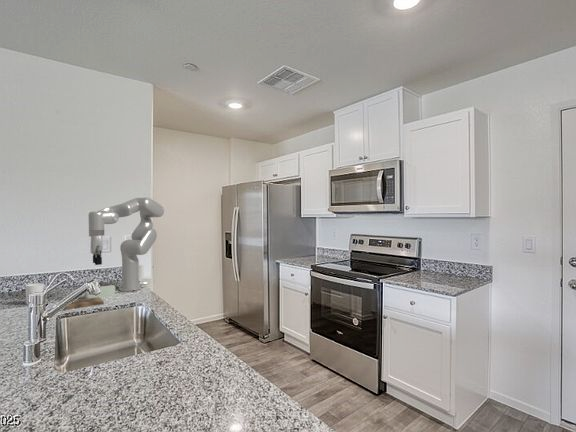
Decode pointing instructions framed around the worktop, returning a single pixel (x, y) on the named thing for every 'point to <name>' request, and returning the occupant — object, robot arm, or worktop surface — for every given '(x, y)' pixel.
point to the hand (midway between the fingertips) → (97, 263)
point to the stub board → (84, 302)
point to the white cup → (33, 289)
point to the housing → (105, 292)
